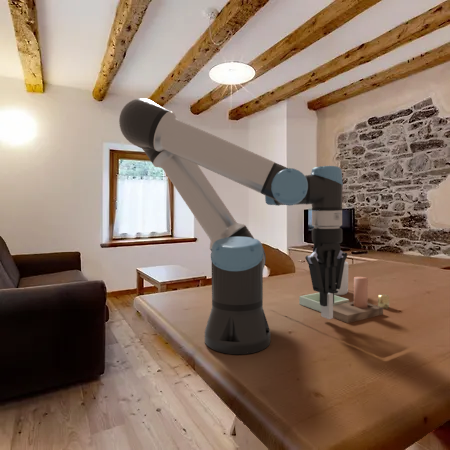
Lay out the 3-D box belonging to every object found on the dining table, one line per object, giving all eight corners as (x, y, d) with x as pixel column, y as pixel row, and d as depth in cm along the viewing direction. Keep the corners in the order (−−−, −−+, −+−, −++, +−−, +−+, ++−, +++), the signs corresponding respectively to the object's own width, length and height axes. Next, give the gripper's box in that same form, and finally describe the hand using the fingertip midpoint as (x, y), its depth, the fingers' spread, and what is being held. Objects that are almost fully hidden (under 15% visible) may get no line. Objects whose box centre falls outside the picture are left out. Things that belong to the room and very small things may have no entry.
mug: (342, 298, 108) (343, 265, 107) (317, 294, 113) (317, 262, 113) (354, 291, 117) (354, 260, 116) (330, 287, 122) (330, 258, 122)
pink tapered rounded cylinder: (361, 315, 89) (361, 279, 89) (350, 312, 92) (351, 277, 92) (370, 313, 91) (370, 278, 90) (359, 310, 94) (360, 276, 93)
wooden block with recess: (347, 326, 84) (347, 315, 84) (324, 317, 91) (324, 307, 91) (382, 318, 90) (383, 307, 90) (359, 310, 97) (359, 300, 97)
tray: (324, 315, 91) (324, 304, 91) (299, 305, 100) (299, 296, 100) (348, 309, 96) (349, 299, 96) (322, 300, 105) (323, 291, 105)
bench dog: (384, 310, 94) (385, 297, 94) (375, 308, 97) (375, 295, 97) (391, 309, 96) (391, 296, 96) (381, 306, 99) (382, 293, 98)
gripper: (319, 229, 77) (319, 326, 78) (356, 226, 83) (355, 316, 84) (297, 227, 83) (298, 317, 84) (333, 225, 89) (333, 309, 91)
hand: (326, 317), depth 84 cm, fingers closed
